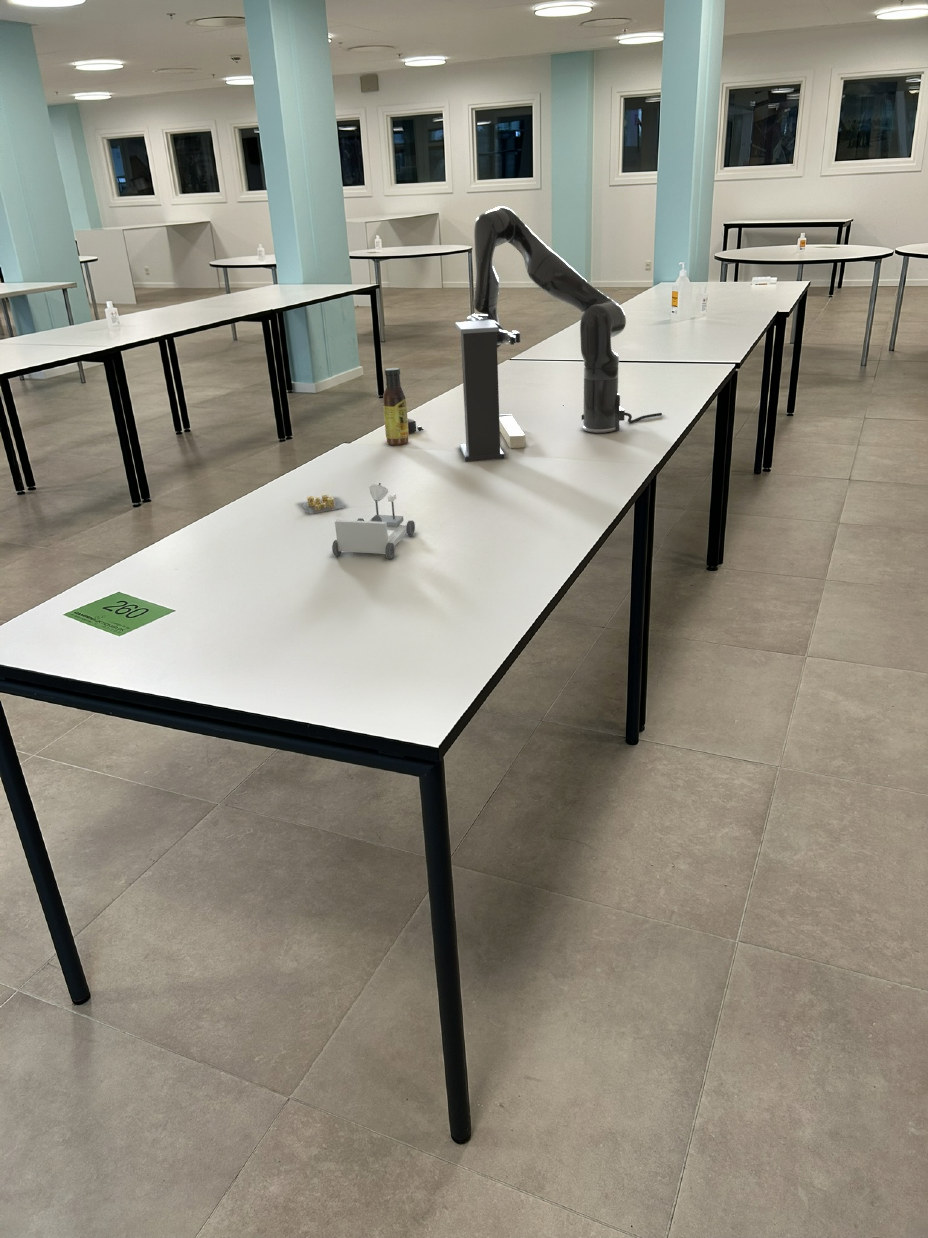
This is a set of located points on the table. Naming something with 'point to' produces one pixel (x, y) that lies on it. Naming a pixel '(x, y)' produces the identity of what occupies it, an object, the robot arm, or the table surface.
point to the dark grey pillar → (480, 390)
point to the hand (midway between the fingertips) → (497, 341)
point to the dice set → (321, 504)
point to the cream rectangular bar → (511, 431)
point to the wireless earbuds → (413, 426)
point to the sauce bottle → (395, 409)
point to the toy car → (372, 530)
